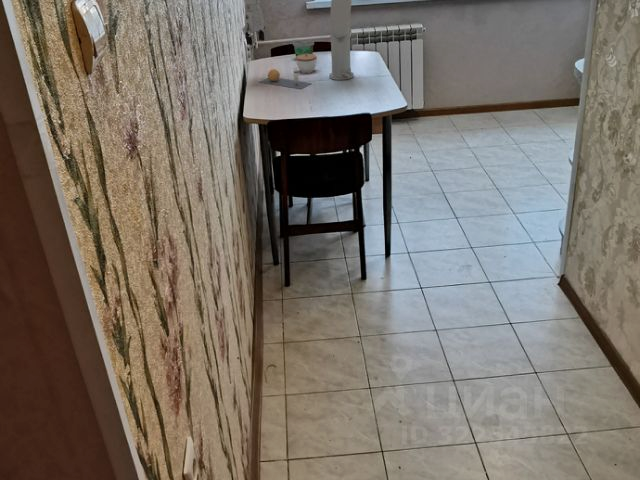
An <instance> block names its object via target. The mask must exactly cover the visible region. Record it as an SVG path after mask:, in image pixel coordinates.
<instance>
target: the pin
mask: <svg viewBox="0 0 640 480" xmlns="http://www.w3.org/2000/svg"><path fill="white" fill-rule="evenodd" d="M293 80H294V84H295V85H298V84H299V83H298V81H299V68H298V66H297V67H293Z"/></svg>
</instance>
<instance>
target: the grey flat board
mask: <svg viewBox="0 0 640 480" xmlns="http://www.w3.org/2000/svg"><path fill="white" fill-rule="evenodd" d="M259 83H262V84H268V85H272V86H278V85H279V87H284V86H285V87H286V88H291V89H297V90H302V89H304V88H306V87H308V86H310V85H312V84H313V83H312V82H306V81H301V80H298V83H299V84H298V85H295V84H294V79H289V78H288V79H287V78H281V77H279V79H278V80H277V81H271V80H270V79H269V78H268V77H267V78H265V79H262V80H260V81H259Z"/></svg>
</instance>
